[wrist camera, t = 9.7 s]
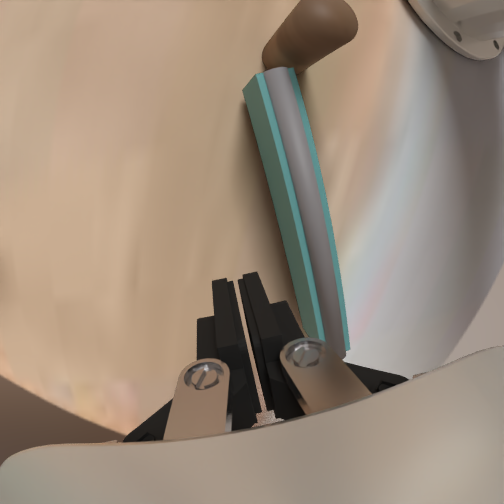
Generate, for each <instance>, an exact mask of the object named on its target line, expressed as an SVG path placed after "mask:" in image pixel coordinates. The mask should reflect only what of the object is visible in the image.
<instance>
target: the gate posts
mask: <svg viewBox="0 0 504 504" xmlns="http://www.w3.org/2000/svg"><path fill="white" fill-rule="evenodd" d="M357 30H358V21H357V17H356V15H355V13H354V11H353V10H352V8H351V7H350V6H349V5H348V4H347V3H346V2H345V1H344V0H301V1H300V2H299V3H298V4H297V6H296V7H295V8H294V9H293V10H292V12H291V13H290V14H289V15H288V17H287V18H286V19H285V21H284V22H283V23H282V24H281V26H280V27H279V28H278V30H277V31H276V32H275V34H274V35H273V36H272V38H271V39H270V40H269V42H268V43H267V44H266V46H265V47H264V49H263V52H262V59H263V62H264V64H265V66H266V68H267V69H268V70H270V69H273V68H278V67H287V68H293V67H294V71H295V74H296V75H298V74H299V73H301V72H302V71H304V70H305V69H307V68H308V67H310V66H311V65H313V64H314V63H316V62H317V61H319V60H320V59H322V58H324V57H325V56H327V55H328V54H330V53H332V52H333V51H335V50H336V49H338V48H340V47H341V46H343V45H345V44H346V43H348V42H350V41H351V40H352V39H353V38H354V37H355V35H356V34H357Z"/></svg>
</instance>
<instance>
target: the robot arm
mask: <svg viewBox="0 0 504 504" xmlns="http://www.w3.org/2000/svg"><path fill="white" fill-rule="evenodd" d="M408 2H409V3H410V5H411V6H412V8H413V9H414V10H415V11H416V13H417V14H418V15H419V17H420V18H421V19H422V20H423V22H424V23H425V24H426V25H427V26H428V27H429V28H430V29H431V30H432V31H433V32H434V34H436V35H437V36H438V37H439V38H440V39H441V40H442V41H443V42H444V43H445V44H447V45H448V46H449V47H451V48H452V49H453V50H455V51H456V52H458V53H459V54H461V55H463V56H465V57H467V58H470V59H474V60H487V59H492V58H495V57H496V56H498V55H499V54H500V52H501V50H502V49H503V45H504V0H408ZM238 284H239V289H240V294H241V299H242V304H243V309H244V314H245V319H246V324H247V328H248V333H249V338H250V343H251V347H252V351H253V355H254V359H255V363H256V368H257V372H258V376H259V380H260V384H261V388H262V392H263V396H264V400H265V404H266V408H267V411H270V410H274V413H275V417H276V419H277V418H281V419H284V421H280V422H275V423H271V424H266V425H262V426H257V427H252V426H253V425H254V423H258V422H257V418H256V413H261V412H262V410H261V406H260V402H259V397H258V393H257V389H256V384H255V380H254V375H253V371H252V367H251V362H250V358H249V353H248V349H247V344H246V340H245V335H244V330H243V326H242V321H241V317H240V312H239V307H238V302H237V298H236V293H235V288H234V283H233V281H229V282H227V278H224V279H219V280H214V281H212V291H213V305H214V316H210V317H204V318H199V319H197V361H195V362H192V363H191V364H189V365H187V366H186V367H185V368H184V369H183V370H182V371H181V373H180V375H179V378H178V382H177V386H176V390H175V393H174V397H173V399H172V400H170V401H169V402H168V403H167V404H166V405H164V406H163V407H162V408H161V409H159V410H158V411H157V412H156V413H154V414H153V415H152V416H151V417H150V418H148V419H147V420H146V421H145V422H143V423H142V424H141V425H140V426H138V427H137V428H136V429H135V430H133V431H132V432H131V433H129V434H128V435H127V436H126V438H125V439H124V440H123V442H121V443H118V441H117V440H113V441H109V442H104V443H94V444H93V443H91V444H54V445H45V446H39V447H34V448H30V449H27V450H23V451H21V452H18V453H16V454H14V455H12V456H10V457H9V458H8V459H6V460H5V461H4V463H3V464H2V465H1V467H0V504H504V346H498V347H491V348H488V349H485V350H481V351H477V352H475V353H472V354H470V355H467V356H465V357H462V358H459V359H457V360H455V361H453V362H451V363H448V364H446V365H444V366H441V367H439V368H437V369H434V370H432V371H430V372H426V373H421V374H417V375H413V378H412V379H411V380H409V379H407V378H406V377H403V376H400V375H396V374H392V373H387V372H383V371H379V370H374V369H370V368H366V367H362V366H358V365H354V364H350V363H346V362H344V361H343V360H342V359H341V358H340V357H339V356H338V355H337V354H336V352H335V351H334V350H333V349H332V348H331V347H330V346H329V345H328V344H327V343H326V342H325V341H323V340H320V339H318V338H311V337H309V338H304V336H303V333H302V331H301V329H300V327H299V325H298V323H297V321H296V319H295V317H294V315H293V313H292V311H291V309H290V307H289V305H288V303H287V301H281V302H277V303H272V304H270V303H269V301H268V298H267V295H266V293H265V290H264V288H263V285H262V283H261V280H260V278H259V275H258V273H257V272H253V273H248V274H243V279H239V280H238ZM251 427H252V428H251Z"/></svg>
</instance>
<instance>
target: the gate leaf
mask: <svg viewBox="0 0 504 504" xmlns="http://www.w3.org/2000/svg"><path fill="white" fill-rule="evenodd" d="M242 91H243V94H244V98H245V101H246V105H247V108H248V112H249V115H250V119H251V122H252V126H253V130H254V133H255V137H256V140H257V144H258V148H259V151H260V155H261V159H262V163H263V166H264V170H265V174H266V178H267V181H268V185H269V189H270V193H271V197H272V201H273V205H274V208H275V212H276V216H277V220H278V224H279V228H280V232H281V236H282V240H283V244H284V248H285V253H286V257H287V261H288V265H289V269H290V273H291V278H292V282H293V286H294V290H295V295H296V299H297V303H298V308H299V312H300V316H301V321H302V325H303V328H304V330H305V331H306V333H307V335H308V336H309V337H311V338H318V339H320V340H323V341H325V342H326V343H327V344H328V345H329V346H330V347H331V348H332V349H333V350H334V351H335V352H336V354H337V355H338V356H339V357H340V358H341V359H344V358H345V356H346V351H348V350H350V342H349V334H348V325H347V317H346V310H345V302H344V295H343V288H342V282H341V275H340V269H339V263H338V257H337V251H336V245H335V239H334V234H333V228H332V223H331V218H330V213H329V208H328V203H327V198H326V193H325V188H324V184H323V179H322V175H321V170H320V166H319V161H318V157H317V153H316V149H315V144H314V140H313V136H312V132H311V128H310V124H309V121H308V117H307V113H306V109H305V106H304V102H303V98H302V95H301V91H300V88H299V84H298V81H297V77H296V74H295V71H294V67H293V68H287V67H278V68H273V69H270V70H267V71H265V72H263V73H259V74H255V76H254V77H253V78H252V79H251V80H250V82H249V83H248V84H247V85H246V86H245V88H244V89H243V90H242Z"/></svg>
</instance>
